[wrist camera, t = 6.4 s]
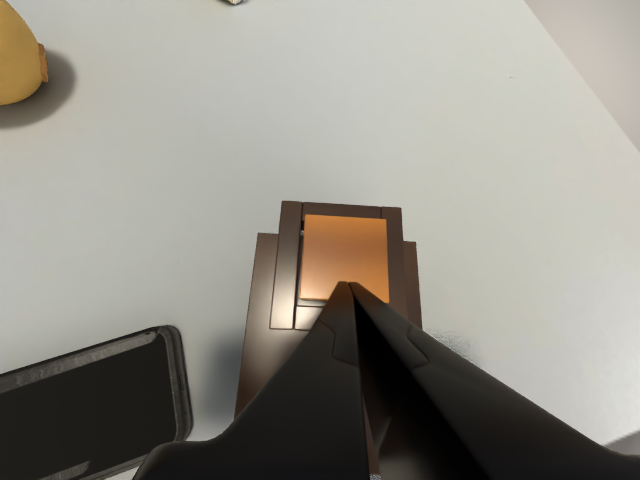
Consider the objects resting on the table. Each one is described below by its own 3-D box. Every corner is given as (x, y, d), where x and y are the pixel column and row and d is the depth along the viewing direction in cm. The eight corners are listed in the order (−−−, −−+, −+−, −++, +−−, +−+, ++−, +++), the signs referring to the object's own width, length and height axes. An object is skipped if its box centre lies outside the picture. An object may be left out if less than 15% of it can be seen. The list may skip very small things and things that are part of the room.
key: (376, 303, 12) (389, 303, 10) (300, 300, 12) (299, 298, 10) (375, 232, 14) (386, 219, 12) (305, 228, 13) (305, 213, 11)
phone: (-80, 398, 15) (169, 321, 17) (-53, 392, 16) (177, 320, 18) (-101, 559, 13) (186, 450, 14) (-69, 539, 14) (194, 440, 16)
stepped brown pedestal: (395, 426, 16) (455, 506, 10) (252, 421, 16) (211, 501, 9) (388, 242, 20) (428, 208, 14) (272, 235, 20) (254, 198, 13)
